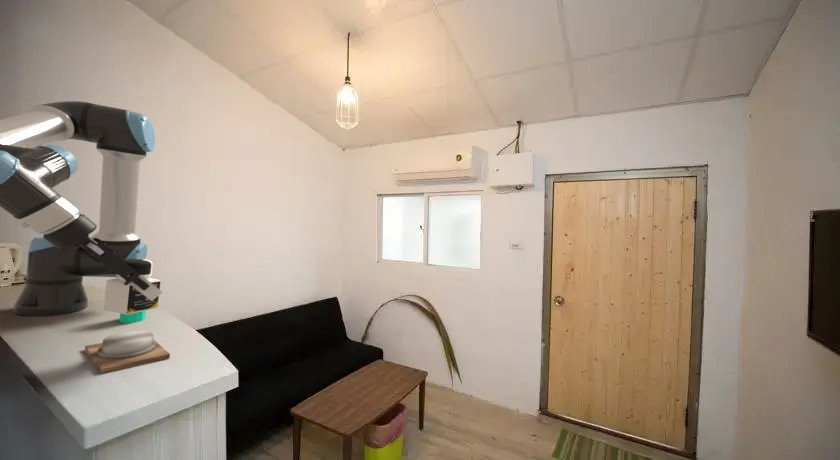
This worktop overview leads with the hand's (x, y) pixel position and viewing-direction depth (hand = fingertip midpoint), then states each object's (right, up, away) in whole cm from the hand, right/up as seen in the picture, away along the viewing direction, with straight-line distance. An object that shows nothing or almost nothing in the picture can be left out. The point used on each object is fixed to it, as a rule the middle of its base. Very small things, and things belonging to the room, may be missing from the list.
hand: (150, 291), depth 79 cm
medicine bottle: (-2, -4, -3) cm, 5 cm away
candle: (-22, -12, +19) cm, 31 cm away
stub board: (-4, -15, -2) cm, 15 cm away
